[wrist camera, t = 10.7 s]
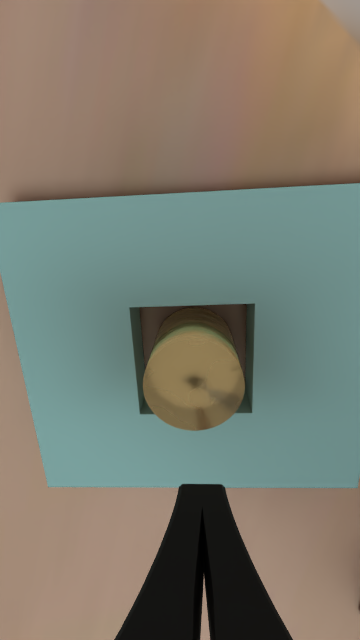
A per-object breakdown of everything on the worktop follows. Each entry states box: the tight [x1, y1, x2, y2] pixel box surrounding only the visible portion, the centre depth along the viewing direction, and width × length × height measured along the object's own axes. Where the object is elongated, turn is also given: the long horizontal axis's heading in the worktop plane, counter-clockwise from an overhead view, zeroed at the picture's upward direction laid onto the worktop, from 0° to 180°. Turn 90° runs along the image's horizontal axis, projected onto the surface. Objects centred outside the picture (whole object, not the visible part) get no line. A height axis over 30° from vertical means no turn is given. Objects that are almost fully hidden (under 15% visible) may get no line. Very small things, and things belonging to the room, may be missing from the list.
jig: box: [0, 183, 360, 488], centre depth 17 cm, size 18×16×2 cm
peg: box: [143, 307, 245, 431], centre depth 16 cm, size 4×4×5 cm
